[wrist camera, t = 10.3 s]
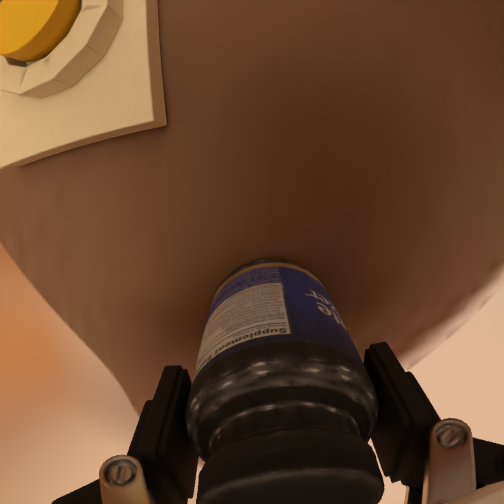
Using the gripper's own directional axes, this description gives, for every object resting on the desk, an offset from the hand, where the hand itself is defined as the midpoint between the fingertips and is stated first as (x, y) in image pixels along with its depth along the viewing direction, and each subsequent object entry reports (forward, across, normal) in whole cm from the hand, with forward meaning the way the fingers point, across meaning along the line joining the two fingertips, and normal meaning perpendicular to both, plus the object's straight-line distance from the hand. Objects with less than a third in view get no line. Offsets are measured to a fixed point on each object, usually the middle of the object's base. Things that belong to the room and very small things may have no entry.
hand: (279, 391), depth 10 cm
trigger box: (+6, +8, -16) cm, 19 cm away
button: (+3, +8, -16) cm, 18 cm away
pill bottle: (+6, 0, 0) cm, 6 cm away
